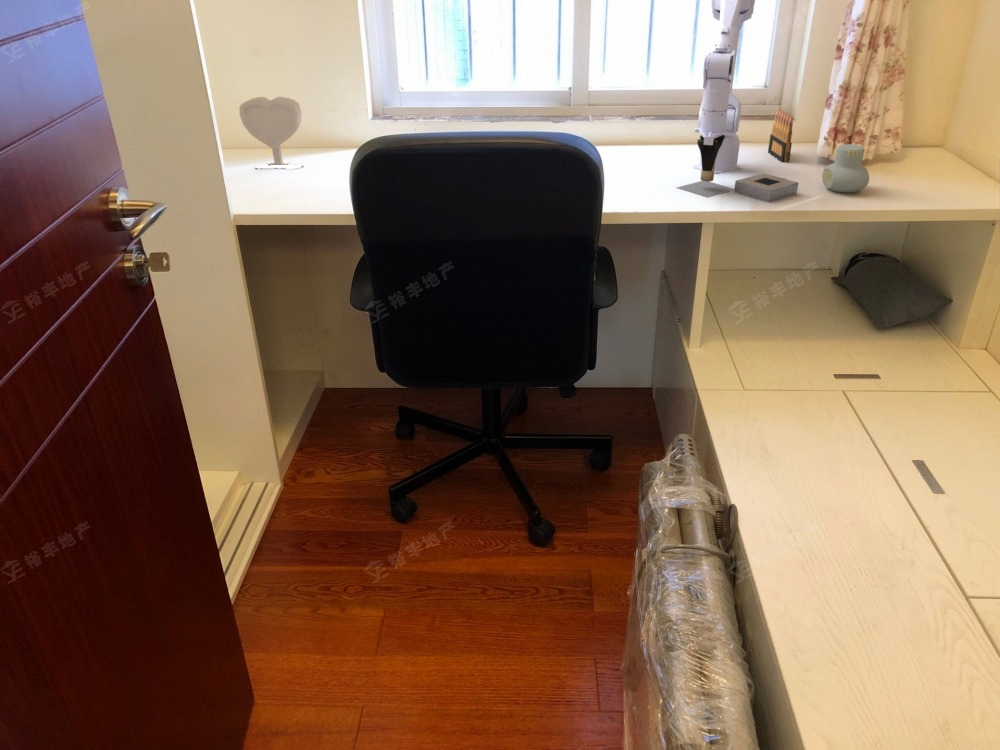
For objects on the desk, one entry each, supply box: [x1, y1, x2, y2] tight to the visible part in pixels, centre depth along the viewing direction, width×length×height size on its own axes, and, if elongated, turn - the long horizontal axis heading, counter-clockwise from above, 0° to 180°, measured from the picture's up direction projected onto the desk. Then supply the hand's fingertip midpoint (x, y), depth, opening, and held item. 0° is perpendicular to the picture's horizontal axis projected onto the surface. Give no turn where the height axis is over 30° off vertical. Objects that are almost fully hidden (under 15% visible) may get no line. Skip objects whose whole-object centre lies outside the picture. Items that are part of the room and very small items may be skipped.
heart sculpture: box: [239, 96, 302, 166], centre depth 212 cm, size 16×5×18 cm, turn 85°
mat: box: [675, 180, 734, 198], centre depth 190 cm, size 10×10×1 cm
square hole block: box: [733, 172, 799, 203], centre depth 185 cm, size 10×10×3 cm
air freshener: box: [821, 143, 870, 194], centre depth 185 cm, size 11×8×10 cm
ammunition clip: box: [767, 107, 794, 163], centre depth 211 cm, size 11×2×12 cm, turn 4°
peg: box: [700, 140, 718, 182], centre depth 186 cm, size 3×3×9 cm
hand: (708, 168), depth 187 cm, fingers closed on peg, 3 cm apart
